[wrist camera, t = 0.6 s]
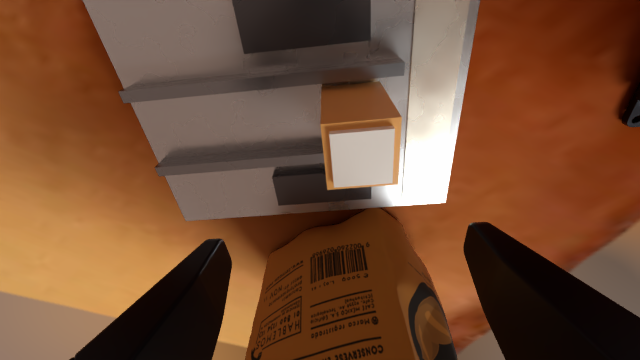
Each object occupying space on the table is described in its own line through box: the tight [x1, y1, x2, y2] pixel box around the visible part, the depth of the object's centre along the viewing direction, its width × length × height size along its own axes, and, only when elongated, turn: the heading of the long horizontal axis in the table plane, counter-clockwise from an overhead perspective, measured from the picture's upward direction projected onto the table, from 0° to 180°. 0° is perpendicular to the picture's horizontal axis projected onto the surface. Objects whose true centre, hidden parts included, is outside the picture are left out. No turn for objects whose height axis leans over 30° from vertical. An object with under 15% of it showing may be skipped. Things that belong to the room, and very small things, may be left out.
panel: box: [83, 0, 480, 221], centre depth 16 cm, size 18×14×3 cm
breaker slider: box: [320, 81, 402, 190], centre depth 13 cm, size 3×3×5 cm
